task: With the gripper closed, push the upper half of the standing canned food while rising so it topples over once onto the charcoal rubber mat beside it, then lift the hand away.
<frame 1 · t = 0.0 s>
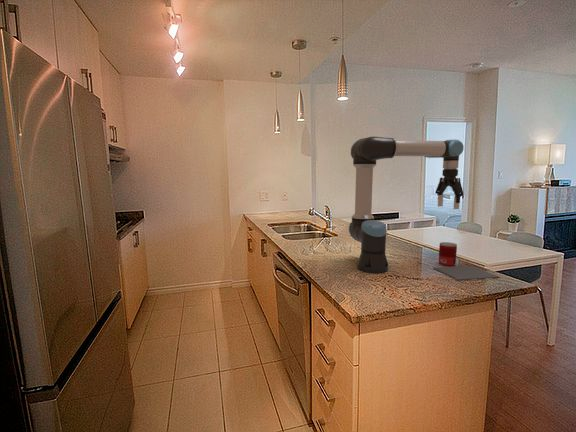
hand: (447, 207, 177), 28 cm above the worktop, fingers open, 13 cm apart
rubber mat: (464, 273, 152), on the worktop
canned food: (446, 264, 166), on the worktop
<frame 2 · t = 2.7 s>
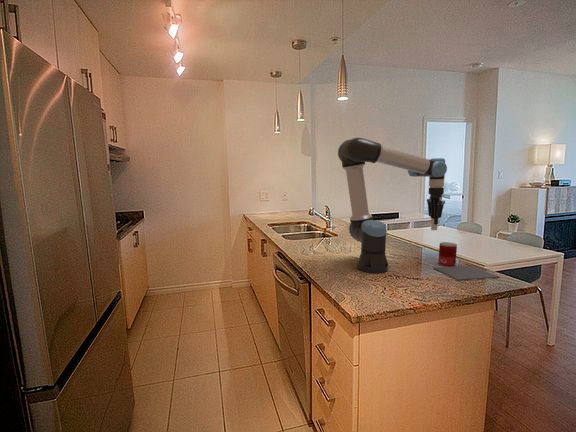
hand: (434, 230, 177), 16 cm above the worktop, fingers closed
nothing on the worktop moved.
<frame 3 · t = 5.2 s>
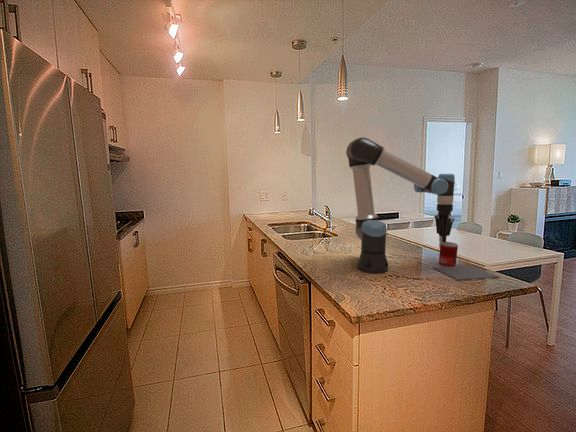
hand: (442, 247, 170), 8 cm above the worktop, fingers closed
canned food: (447, 264, 166), on the worktop, touching gripper
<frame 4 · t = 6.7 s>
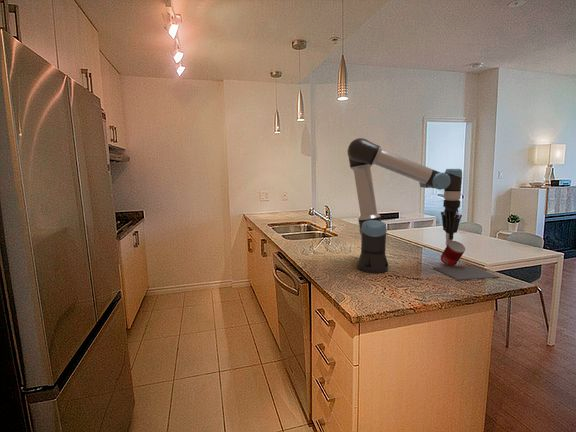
hand: (448, 245, 165), 10 cm above the worktop, fingers closed
canned food: (447, 261, 166), point 2 cm above the worktop, touching gripper
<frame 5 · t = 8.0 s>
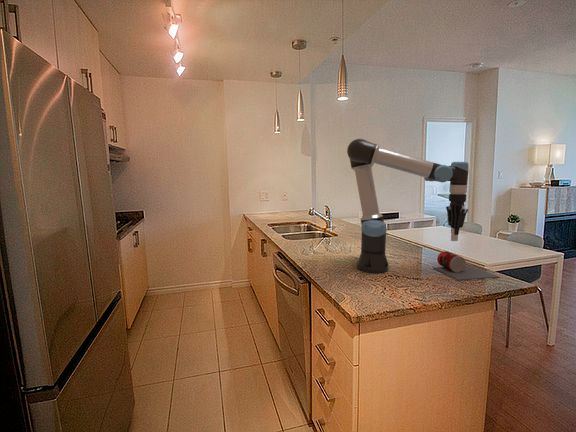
hand: (454, 240, 160), 14 cm above the worktop, fingers closed
canned food: (443, 258, 162), point 4 cm above the worktop, touching rubber mat
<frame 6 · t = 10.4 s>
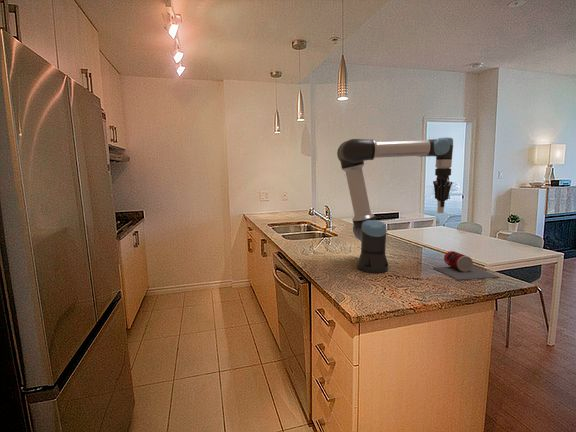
hand: (440, 212, 170), 26 cm above the worktop, fingers closed
canned food: (450, 257, 162), point 4 cm above the worktop, touching rubber mat
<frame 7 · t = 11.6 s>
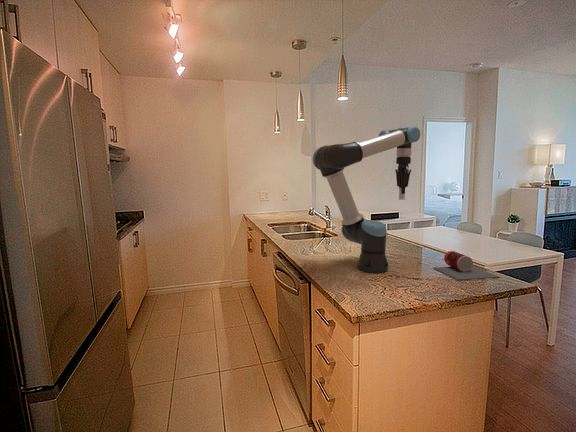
hand: (401, 199, 179), 32 cm above the worktop, fingers closed
nothing on the worktop moved.
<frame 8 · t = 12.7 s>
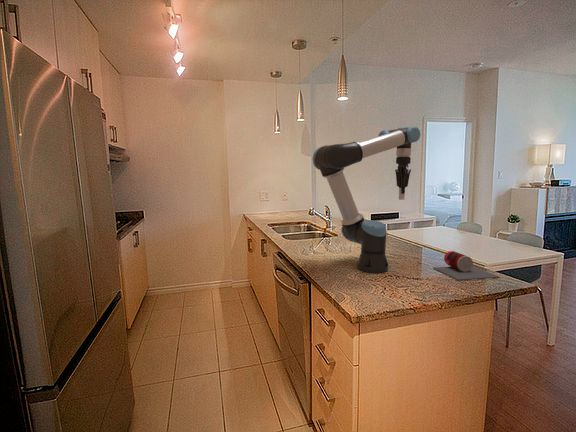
hand: (401, 199, 179), 32 cm above the worktop, fingers closed
nothing on the worktop moved.
at the end: canned food tilted 90°; canned food inside the target area (10.0 cm from its centre), point 4.5 cm above the worktop; canned food touching rubber mat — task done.
